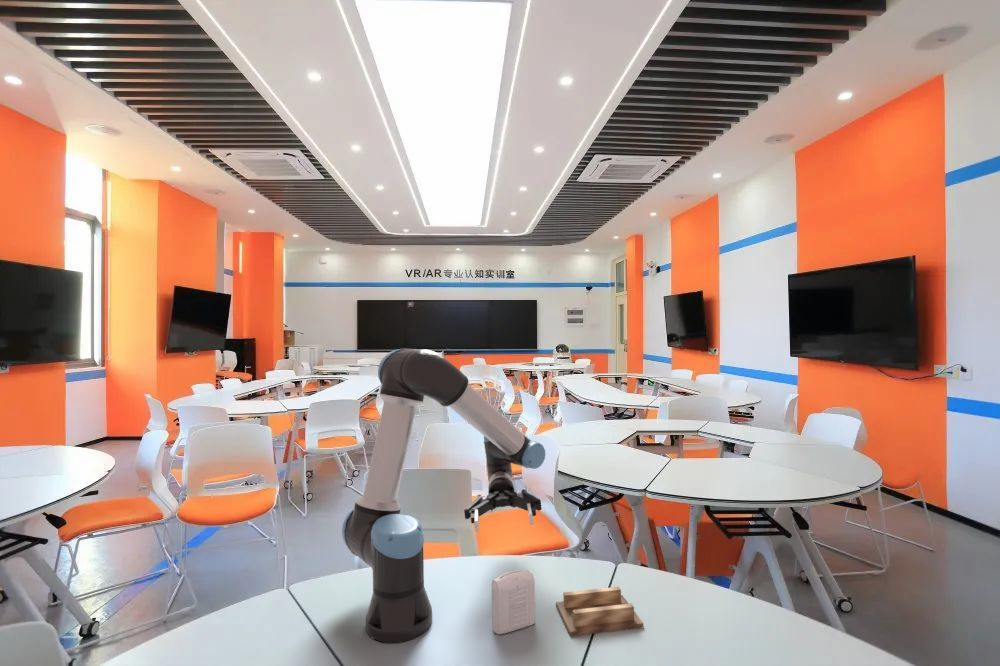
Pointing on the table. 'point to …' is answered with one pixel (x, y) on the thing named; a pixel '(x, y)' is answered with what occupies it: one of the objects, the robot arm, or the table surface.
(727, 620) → the table surface
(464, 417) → the robot arm
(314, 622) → the table surface
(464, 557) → the table surface
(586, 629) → the rack
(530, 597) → the photo printer
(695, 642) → the table surface
